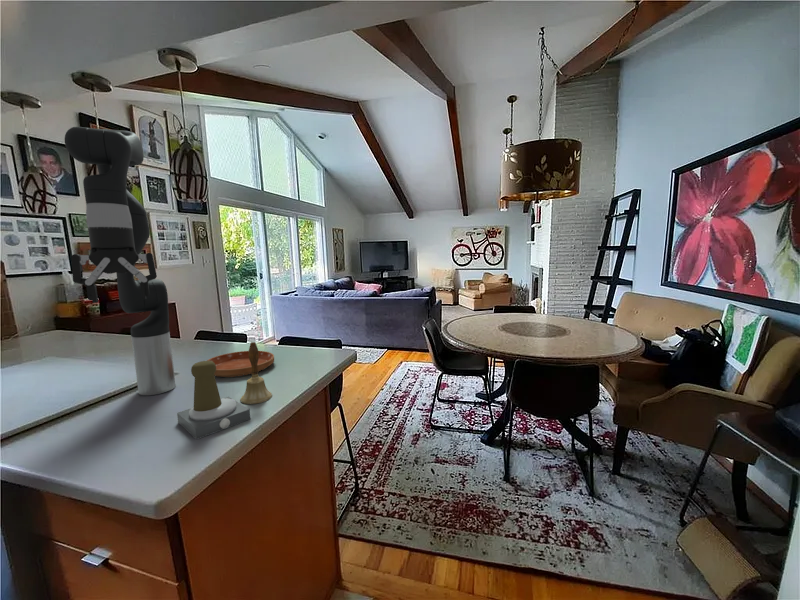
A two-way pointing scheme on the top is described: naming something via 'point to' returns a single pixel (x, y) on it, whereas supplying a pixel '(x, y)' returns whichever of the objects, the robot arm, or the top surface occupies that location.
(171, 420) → the top surface
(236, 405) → the scale
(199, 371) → the cork
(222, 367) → the saucer
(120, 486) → the top surface
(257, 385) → the hand bell
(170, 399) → the top surface
